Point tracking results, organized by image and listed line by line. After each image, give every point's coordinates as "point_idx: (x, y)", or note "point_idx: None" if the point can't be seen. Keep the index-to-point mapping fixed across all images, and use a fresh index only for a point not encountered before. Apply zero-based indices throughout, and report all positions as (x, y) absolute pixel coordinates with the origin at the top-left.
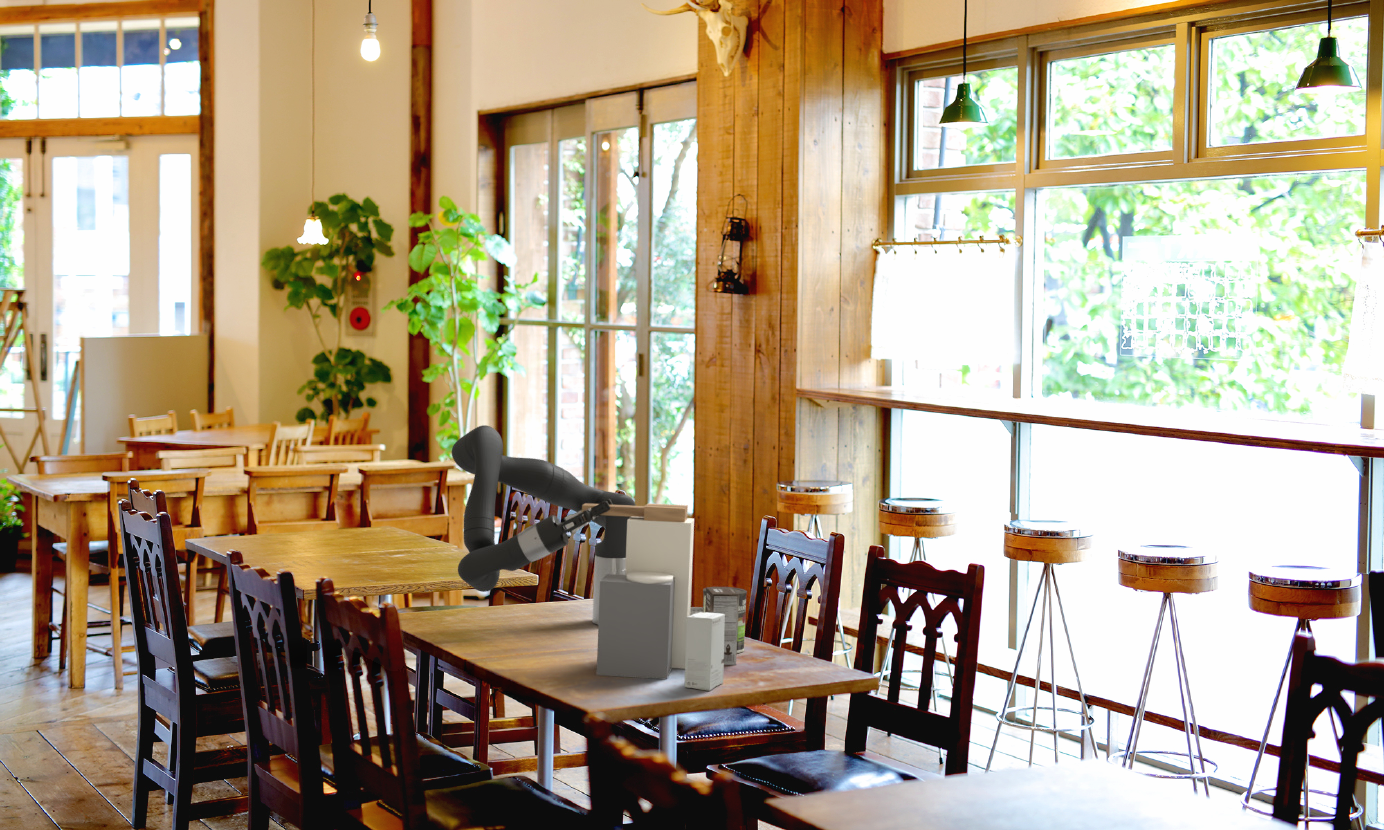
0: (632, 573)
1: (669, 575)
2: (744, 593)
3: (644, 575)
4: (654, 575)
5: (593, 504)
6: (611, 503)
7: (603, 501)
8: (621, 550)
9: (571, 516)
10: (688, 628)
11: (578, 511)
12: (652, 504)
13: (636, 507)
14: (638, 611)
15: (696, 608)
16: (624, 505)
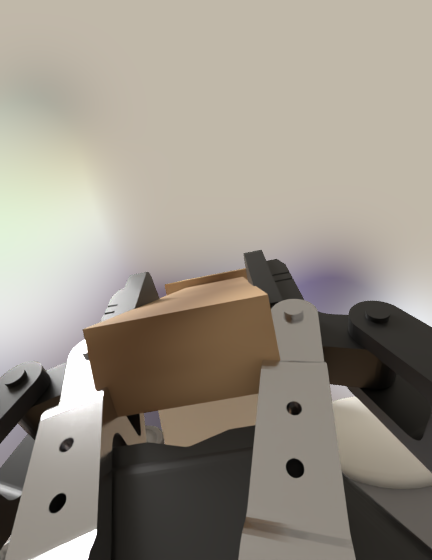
0: (386, 462)
1: (340, 403)
2: (150, 426)
3: (390, 433)
4: (368, 420)
5: (171, 304)
6: (157, 293)
7: (140, 288)
8: None
9: (346, 507)
10: None
11: (99, 446)
12: (190, 279)
13: (233, 279)
14: None
15: None
16: (178, 292)
